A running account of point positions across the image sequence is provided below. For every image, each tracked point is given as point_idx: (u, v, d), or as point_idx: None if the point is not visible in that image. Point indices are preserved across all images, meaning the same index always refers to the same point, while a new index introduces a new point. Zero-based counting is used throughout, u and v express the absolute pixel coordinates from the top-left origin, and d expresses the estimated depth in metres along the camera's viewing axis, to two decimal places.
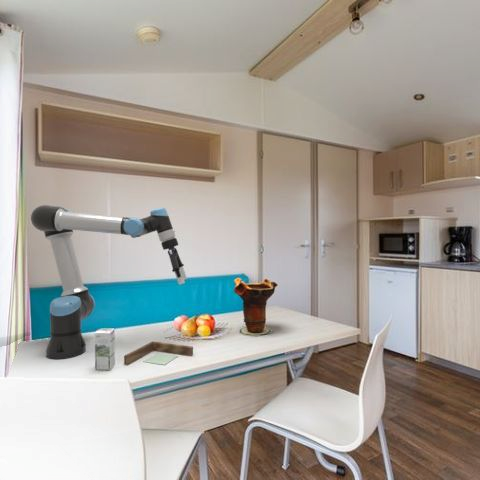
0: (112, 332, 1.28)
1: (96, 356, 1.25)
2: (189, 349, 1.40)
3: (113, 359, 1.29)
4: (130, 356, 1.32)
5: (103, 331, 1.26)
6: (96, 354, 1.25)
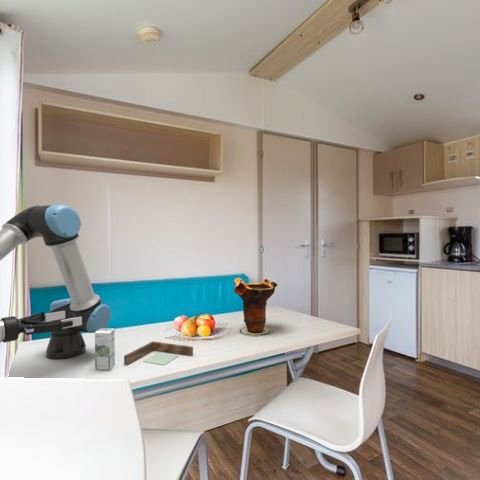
0: (112, 332, 1.28)
1: (96, 356, 1.25)
2: (189, 349, 1.40)
3: (113, 359, 1.29)
4: (130, 356, 1.32)
5: (103, 331, 1.26)
6: (96, 354, 1.25)
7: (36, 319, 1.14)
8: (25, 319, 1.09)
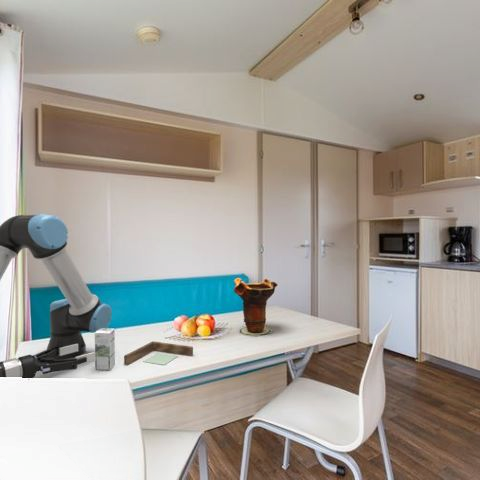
0: (112, 332, 1.28)
1: (96, 356, 1.25)
2: (189, 349, 1.40)
3: (113, 359, 1.29)
4: (130, 356, 1.32)
5: (103, 331, 1.26)
6: (96, 354, 1.25)
7: (51, 354, 1.18)
8: (41, 356, 1.12)
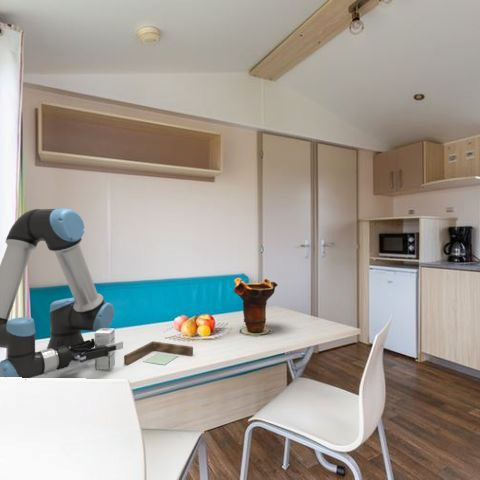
0: (112, 332, 1.28)
1: None
2: (189, 349, 1.40)
3: (113, 359, 1.29)
4: (130, 356, 1.32)
5: (103, 331, 1.26)
6: None
7: (85, 346, 1.25)
8: (73, 347, 1.20)
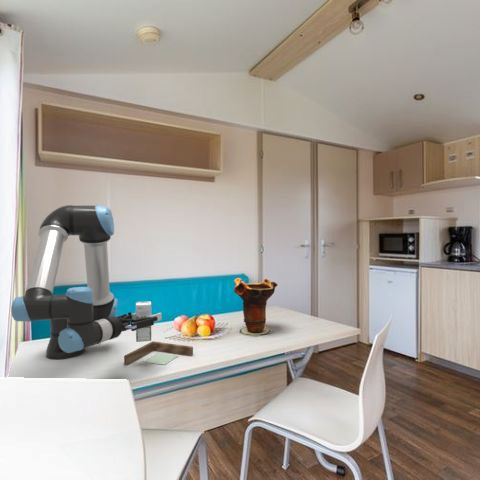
0: None
1: None
2: (189, 349, 1.40)
3: None
4: (130, 356, 1.32)
5: (143, 303, 1.29)
6: None
7: (126, 319, 1.27)
8: (119, 319, 1.22)
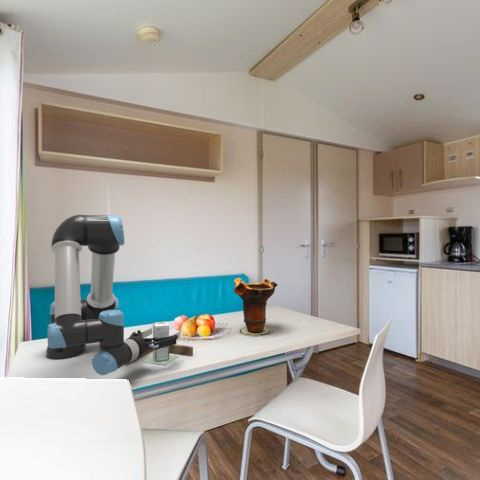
0: None
1: None
2: (189, 349, 1.40)
3: None
4: None
5: (161, 324, 1.35)
6: None
7: None
8: None
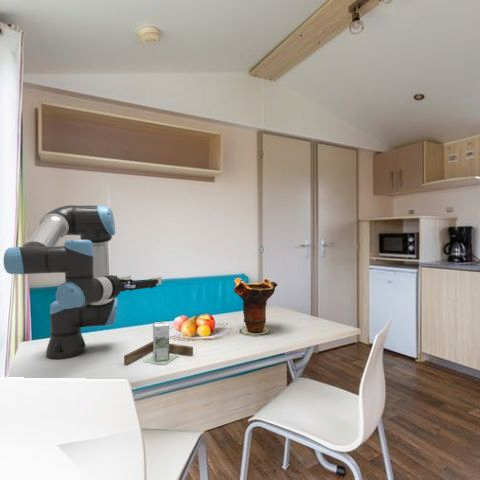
0: None
1: (156, 348, 1.33)
2: (189, 349, 1.40)
3: None
4: (130, 356, 1.32)
5: (161, 324, 1.35)
6: (156, 346, 1.33)
7: None
8: None
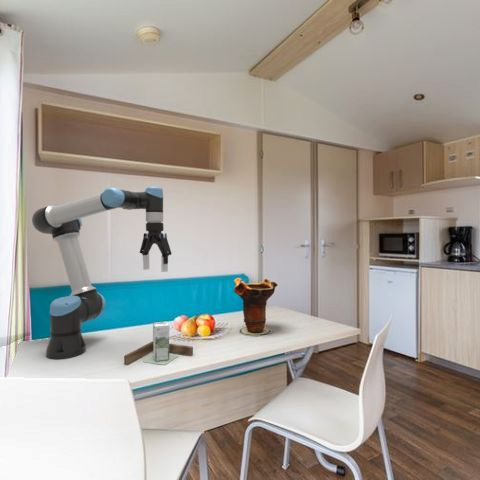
0: None
1: (156, 348, 1.33)
2: (189, 349, 1.40)
3: None
4: (130, 356, 1.32)
5: (161, 324, 1.35)
6: (156, 346, 1.33)
7: None
8: (152, 237, 1.46)
